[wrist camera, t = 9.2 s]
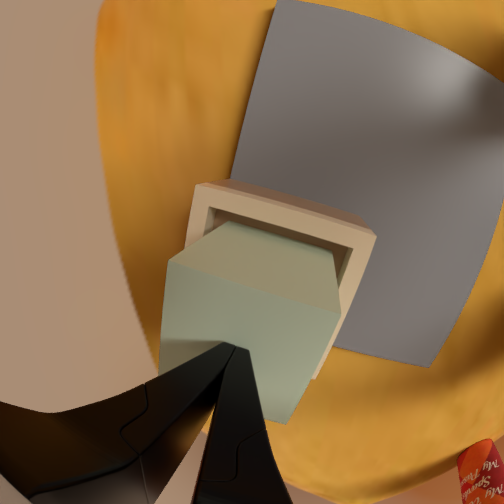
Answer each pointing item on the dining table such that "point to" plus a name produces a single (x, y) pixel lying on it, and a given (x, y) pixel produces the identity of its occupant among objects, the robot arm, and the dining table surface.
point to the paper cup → (481, 474)
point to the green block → (253, 308)
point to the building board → (370, 171)
